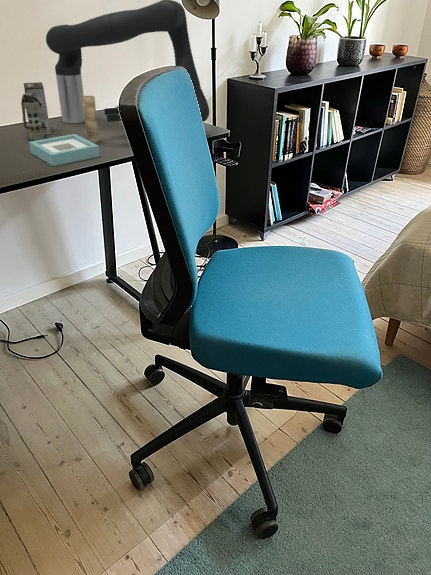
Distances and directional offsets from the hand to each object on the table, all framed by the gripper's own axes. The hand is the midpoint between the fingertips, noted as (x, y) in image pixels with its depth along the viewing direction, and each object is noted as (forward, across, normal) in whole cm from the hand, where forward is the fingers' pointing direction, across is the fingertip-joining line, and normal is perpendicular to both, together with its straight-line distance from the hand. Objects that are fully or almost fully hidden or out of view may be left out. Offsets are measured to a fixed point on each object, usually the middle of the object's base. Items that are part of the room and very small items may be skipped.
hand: (105, 115), depth 160 cm
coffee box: (+22, -16, +9) cm, 29 cm away
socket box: (+15, +12, +9) cm, 21 cm away
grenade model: (+24, -8, +9) cm, 27 cm away
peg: (+5, 0, +9) cm, 10 cm away
